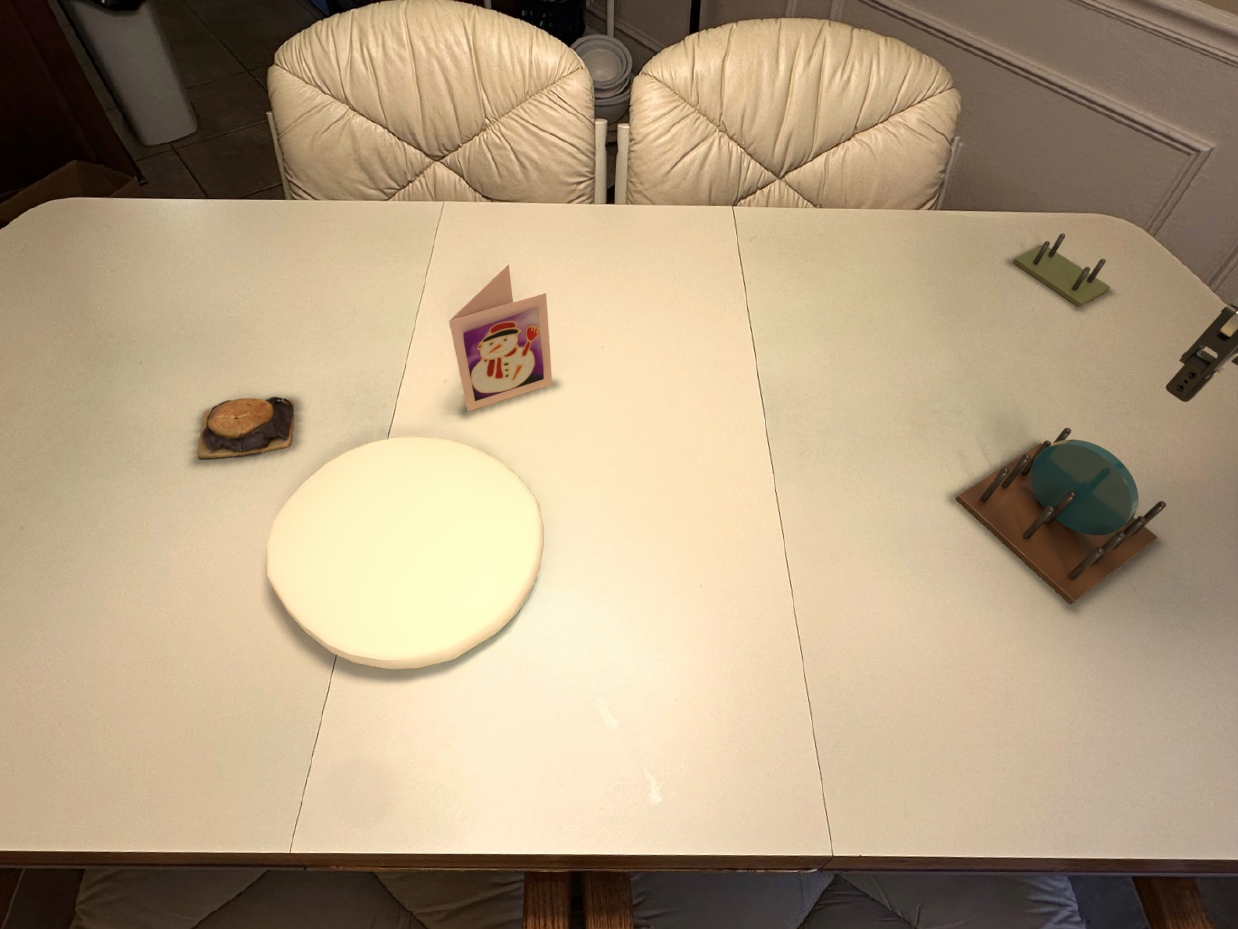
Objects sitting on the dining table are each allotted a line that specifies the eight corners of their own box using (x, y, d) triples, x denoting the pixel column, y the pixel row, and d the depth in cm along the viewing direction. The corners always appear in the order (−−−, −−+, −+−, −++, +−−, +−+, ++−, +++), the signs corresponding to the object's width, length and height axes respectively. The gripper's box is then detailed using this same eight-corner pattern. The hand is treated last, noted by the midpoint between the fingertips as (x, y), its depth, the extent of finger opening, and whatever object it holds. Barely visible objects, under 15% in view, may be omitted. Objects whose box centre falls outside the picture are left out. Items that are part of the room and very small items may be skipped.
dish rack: (1038, 446, 92) (1065, 410, 87) (1153, 540, 84) (1192, 507, 79) (955, 499, 87) (979, 464, 82) (1070, 604, 79) (1105, 573, 74)
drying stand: (1041, 248, 117) (1056, 221, 113) (1107, 291, 111) (1126, 264, 107) (1012, 262, 114) (1026, 236, 111) (1078, 307, 108) (1096, 280, 105)
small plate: (1020, 479, 88) (1068, 419, 79) (1100, 548, 82) (1161, 492, 74) (1014, 484, 87) (1061, 424, 79) (1094, 553, 82) (1154, 497, 73)
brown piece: (197, 463, 87) (183, 444, 84) (207, 410, 92) (194, 390, 89) (292, 451, 89) (281, 431, 86) (296, 399, 93) (286, 378, 90)
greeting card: (469, 416, 93) (451, 325, 81) (451, 376, 96) (431, 285, 85) (554, 388, 96) (549, 297, 84) (533, 351, 100) (525, 259, 88)
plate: (580, 473, 82) (476, 699, 66) (576, 504, 87) (478, 720, 72) (350, 390, 84) (198, 590, 69) (359, 425, 89) (220, 618, 74)
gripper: (1350, 284, 50) (1197, 435, 63) (1448, 218, 55) (1287, 371, 68) (1243, 227, 54) (1120, 381, 67) (1344, 169, 59) (1210, 324, 72)
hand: (1204, 376), depth 67 cm, fingers open, 8 cm apart
